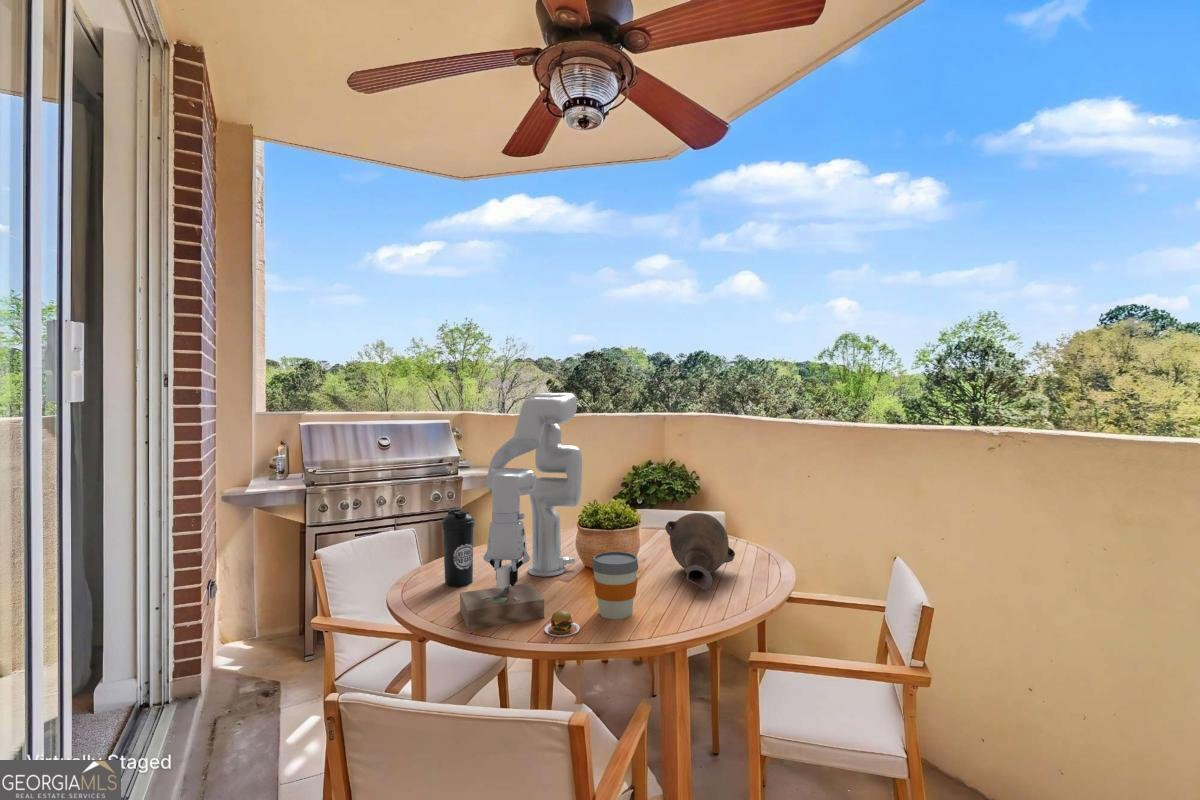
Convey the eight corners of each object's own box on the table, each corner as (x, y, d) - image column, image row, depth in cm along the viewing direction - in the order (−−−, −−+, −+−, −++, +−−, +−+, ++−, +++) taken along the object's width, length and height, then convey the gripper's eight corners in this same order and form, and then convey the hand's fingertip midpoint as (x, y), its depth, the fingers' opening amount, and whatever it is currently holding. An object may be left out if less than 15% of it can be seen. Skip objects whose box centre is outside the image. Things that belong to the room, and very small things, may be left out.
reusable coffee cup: (611, 600, 162) (611, 548, 162) (647, 611, 154) (647, 556, 154) (583, 614, 152) (582, 558, 152) (620, 625, 144) (619, 567, 144)
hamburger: (595, 630, 144) (595, 608, 143) (565, 647, 134) (565, 624, 134) (559, 619, 151) (559, 598, 151) (528, 635, 141) (528, 613, 141)
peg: (510, 586, 159) (509, 562, 159) (516, 587, 158) (516, 563, 158) (490, 599, 149) (490, 572, 149) (497, 600, 149) (497, 573, 149)
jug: (680, 560, 201) (669, 605, 172) (667, 509, 198) (654, 545, 170) (737, 553, 195) (736, 598, 166) (725, 500, 192) (721, 536, 164)
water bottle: (450, 590, 172) (450, 515, 171) (437, 582, 179) (436, 510, 179) (480, 583, 178) (480, 510, 178) (466, 575, 186) (465, 505, 186)
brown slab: (530, 600, 163) (530, 582, 163) (544, 617, 150) (544, 598, 150) (460, 610, 155) (459, 591, 155) (468, 630, 142) (467, 609, 142)
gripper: (538, 515, 157) (539, 580, 158) (482, 514, 160) (483, 578, 160) (531, 521, 150) (532, 590, 150) (472, 519, 152) (473, 587, 153)
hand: (506, 583), depth 155 cm, fingers closed on peg, 3 cm apart
